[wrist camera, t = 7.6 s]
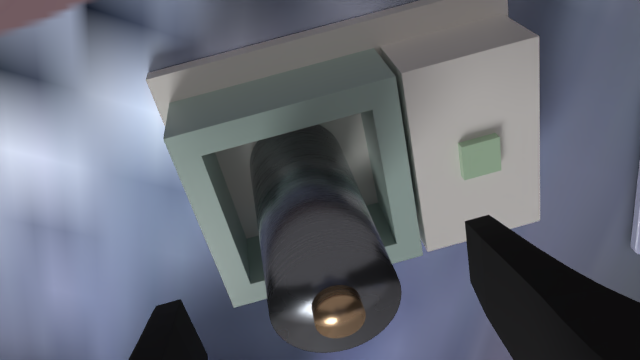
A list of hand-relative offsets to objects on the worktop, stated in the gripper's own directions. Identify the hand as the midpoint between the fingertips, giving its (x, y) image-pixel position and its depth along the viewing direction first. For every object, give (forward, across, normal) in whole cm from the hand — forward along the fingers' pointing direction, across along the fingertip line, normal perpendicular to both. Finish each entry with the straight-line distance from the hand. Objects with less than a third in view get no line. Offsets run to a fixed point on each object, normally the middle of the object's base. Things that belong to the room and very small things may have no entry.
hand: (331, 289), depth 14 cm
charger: (+7, -2, 0) cm, 7 cm away
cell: (+6, 0, 0) cm, 6 cm away
